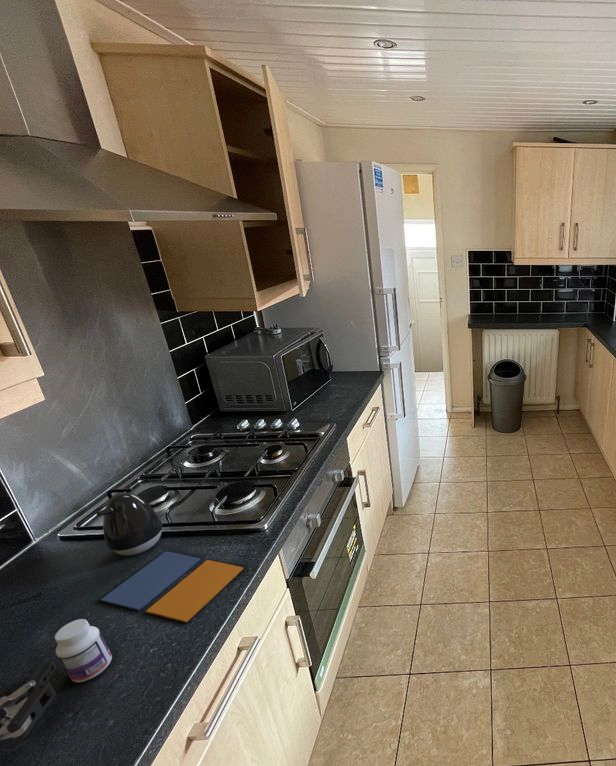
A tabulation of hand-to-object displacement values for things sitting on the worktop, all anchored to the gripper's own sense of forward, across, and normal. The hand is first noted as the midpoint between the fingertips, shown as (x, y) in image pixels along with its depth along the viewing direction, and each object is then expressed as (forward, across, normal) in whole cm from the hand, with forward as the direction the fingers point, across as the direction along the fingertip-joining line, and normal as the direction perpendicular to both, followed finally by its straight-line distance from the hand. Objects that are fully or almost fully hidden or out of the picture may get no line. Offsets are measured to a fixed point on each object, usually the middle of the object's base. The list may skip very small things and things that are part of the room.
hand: (10, 671), depth 59 cm
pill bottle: (+11, 0, +15) cm, 19 cm away
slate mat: (+31, -2, +15) cm, 35 cm away
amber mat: (+25, -12, +15) cm, 31 cm away
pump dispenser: (+44, +6, +15) cm, 47 cm away
